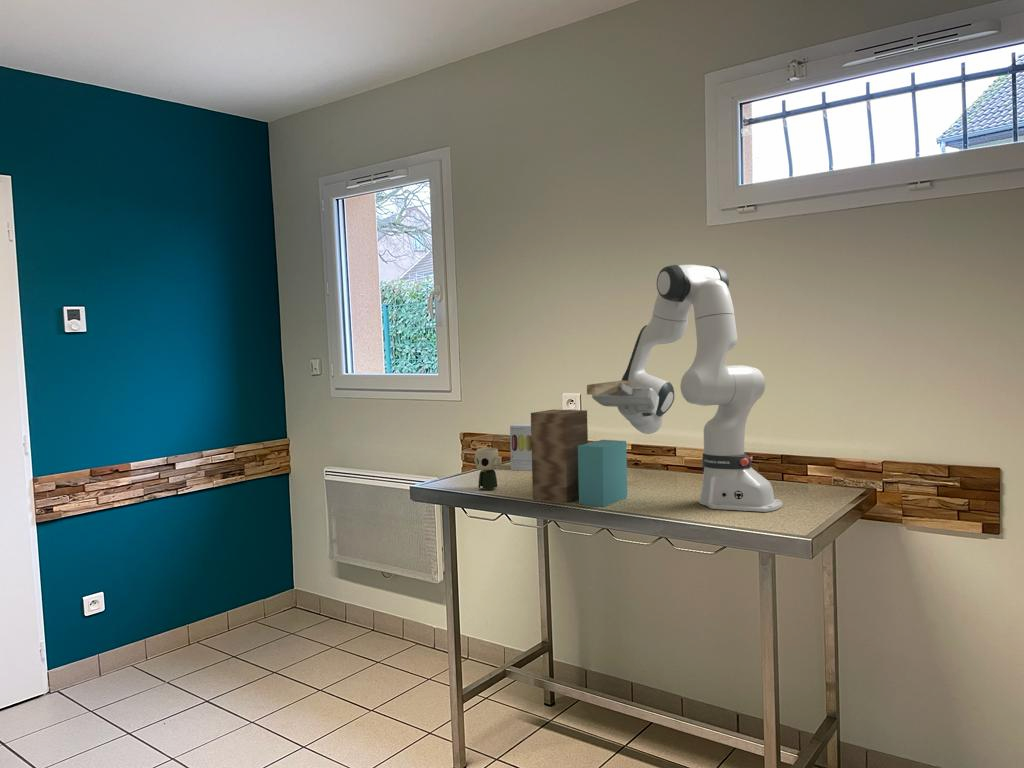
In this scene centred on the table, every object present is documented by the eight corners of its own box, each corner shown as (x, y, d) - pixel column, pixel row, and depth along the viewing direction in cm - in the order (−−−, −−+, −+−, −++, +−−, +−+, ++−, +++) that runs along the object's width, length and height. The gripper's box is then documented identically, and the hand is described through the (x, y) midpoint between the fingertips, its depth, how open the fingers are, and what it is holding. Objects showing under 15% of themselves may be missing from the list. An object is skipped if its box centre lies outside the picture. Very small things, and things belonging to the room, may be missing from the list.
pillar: (588, 495, 237) (587, 410, 236) (567, 502, 226) (565, 414, 225) (555, 491, 244) (553, 409, 243) (532, 499, 233) (530, 412, 232)
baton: (630, 389, 239) (630, 380, 239) (595, 394, 221) (595, 384, 221) (621, 389, 240) (621, 380, 240) (586, 394, 222) (586, 384, 222)
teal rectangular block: (627, 497, 232) (626, 440, 231) (603, 506, 220) (602, 447, 219) (603, 495, 236) (602, 439, 236) (579, 504, 224) (577, 445, 223)
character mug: (468, 489, 252) (467, 449, 252) (483, 485, 258) (482, 446, 257) (492, 492, 245) (491, 451, 245) (507, 489, 251) (506, 449, 250)
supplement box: (509, 470, 289) (508, 425, 288) (515, 466, 298) (514, 422, 297) (535, 470, 287) (534, 425, 286) (539, 466, 296) (538, 422, 295)
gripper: (605, 395, 250) (586, 375, 240) (664, 396, 239) (647, 376, 229) (600, 412, 248) (581, 393, 238) (660, 415, 236) (642, 395, 226)
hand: (614, 385), depth 233 cm, fingers closed on baton, 3 cm apart
